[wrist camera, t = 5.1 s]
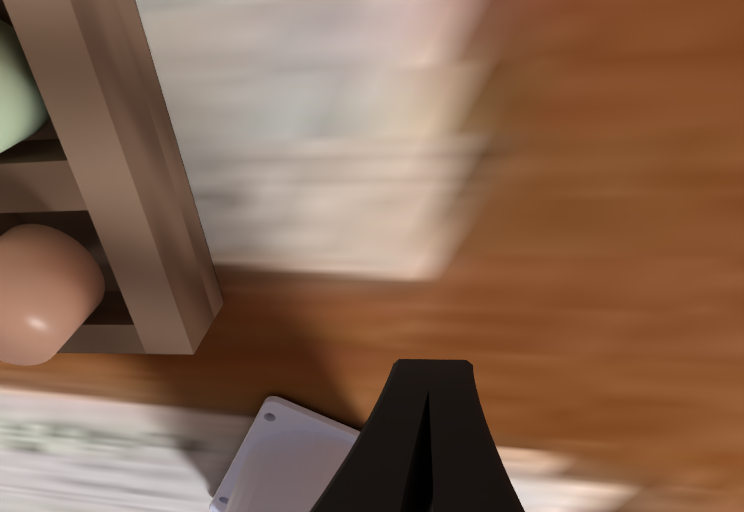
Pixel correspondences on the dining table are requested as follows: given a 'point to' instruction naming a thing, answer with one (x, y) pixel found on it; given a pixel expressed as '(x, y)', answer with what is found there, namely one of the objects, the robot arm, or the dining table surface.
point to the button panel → (110, 177)
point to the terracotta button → (43, 292)
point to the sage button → (17, 93)
